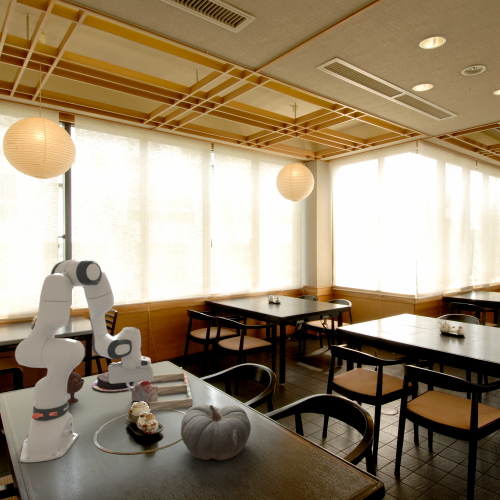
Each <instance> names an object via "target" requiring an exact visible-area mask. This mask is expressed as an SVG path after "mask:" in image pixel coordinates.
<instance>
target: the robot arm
mask: <svg viewBox="0 0 500 500" xmlns="http://www.w3.org/2000/svg"><path fill="white" fill-rule="evenodd" d="M50 271H51V272H50V274H49V275H47V276H46V277H45V278H44V280H43V283H42V286H41V291H40V295H39V303H38V311H37V318H36V322H35V324H34V326H33V329H32V331H30V333H29V334H28V336H27V337H26V338H25V339H23V340H22V341H20V343H19V344H18V345H17V346H16V348H15V352H14V357H15V361H16V362H17V363H18V365H21V366H25V367H28V368H37V369H38V368H40V369H42V368H43V369H45V368H46V369H47V372H46V376H44V377H42V378H41V379H39V380H38V381H37V382H36V383H35V385H34V388H33V389H34V390H33V393H34V397H33V398H34V404H33V407H32V415H31V419H30V422H29V423H30V425H29V431H28V433H27V434H26V439H25V440H24V441H23V444H22V448H21V453H20V457H19V462H22V463H38V462H45V461H46V462H47V461H51V460H54V459H58V458H62V457H63V456H64V455H65V454H66V453H67V452H68V450H69V449H70V448H71V447H72V446H73V444H74V443H75V442H76V440H77V439H78V438H79V435H78V433H76V432H74V419H73V418H74V417H73V415H72V414H71V413H70V412H69V405H70V404H68V400H69V399H68V395H67V394H68V393H67V383H68V378H69V376H70V373H71V372H72V371H74V370H75V368H76V367H77V366H79V365H80V364H81V363H82V361H83V360H84V357H85V354H86V353H85V346H84V344H83V343H82V342H81V341H80V340H76V339H72V338H64V337H63V338H61V337H60V338H56V337H55V336H56V333H57V332H58V331H59V329H61V328H63V327H65V326H66V325H67V324H68V323H69V320H70V317H71V307H72V306H71V304H72V291H73V289H74V287H82V289H83V291H84V292H83V293H84V296H85V298H86V299H85V300H86V303H87V307H88V315H89V321H90V327H91V332H92V345H91V346H92V347H91V348H92V351H93V353H94V354H95V355H97V356H100V357H104V358H108V359H111V360H120V359H121V361H119V362H112V363H109V364H108V366H107V367H108V368H107V372H110V374H109V383H110V384H113V383H125V382H126V385H127V387H128V388H129V390H128V392H132V391H135V386H136V385H137V381H150V380H153V378H154V375H155V373H154V366H153V364H152V361H151V360H152V359H151V358H150V357H148V356H144V355H142V352H141V347H142V336H141V331H140V329H139V328H137V327H132V326H126V327H123V328H122V330H121V331H120V332H119V333H117V334H115V335H111V334H110V333H109V332H108V329H107V323H106V322H107V321H106V318H105V316H106V313H109V311H111V309H112V308H113V307H114V303H115V300H114V299H115V298H114V293H113V289H112V287H111V284H110V281H109V279H108V277H107V274H106V273H105V271H103V270H102V269H101V267H100V265H99V263H98V262H96V261H95V260H92V259H69V260H62V261H59V262H58V263H56V264H55V265H54V266H53V268H52V269H51V270H50ZM129 382H134V386H130V385H129Z"/></svg>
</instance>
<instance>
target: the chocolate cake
mask: <svg viewBox="0 0 500 500" xmlns="http://www.w3.org/2000/svg"><path fill="white" fill-rule="evenodd" d="M109 374H110V372H109V371H105V372H103V373H101V374H99V375H98V376H96V380H95V381H93V383H92V388H93V389H95V390H97V391H100V392H105V393H119V392H129V388H128V387H127V385H126V382H125V383H113V384H110V383H109ZM137 382H139V381H137ZM142 382H143V381H142ZM132 384H134V382H129V385H130V386H132Z"/></svg>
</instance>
